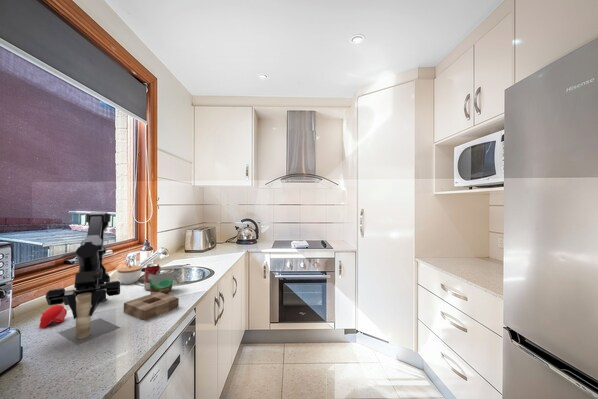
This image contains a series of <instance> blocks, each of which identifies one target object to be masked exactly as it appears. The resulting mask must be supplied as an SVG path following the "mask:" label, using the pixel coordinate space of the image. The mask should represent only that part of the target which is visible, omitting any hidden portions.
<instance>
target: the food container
mask: <svg viewBox="0 0 598 399" xmlns="http://www.w3.org/2000/svg"><path fill="white" fill-rule="evenodd" d="M175 275H176V272H175V269H174V268H172V269H171V270H170V271H162V272H161V271H160V273H159V274H156V275H151V274H149V276H148V279H149V280H150V290H149V291H150V294H153V293H156V292H161V293H164V294H167V295H169V294H170V293H171V292H172V291H173V283H174V276H175Z"/></svg>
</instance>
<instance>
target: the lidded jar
mask: <svg viewBox="0 0 598 399" xmlns="http://www.w3.org/2000/svg"><path fill="white" fill-rule="evenodd" d="M142 268H143V267H142V265H132V264H129V265H126V266H122V267H119V268H118V269H117V279H118V281H119V282H120V283H121V284H123V285H131V284H135V283H137V281H138V280H139V279H140V277H141V274H142Z"/></svg>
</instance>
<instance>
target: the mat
mask: <svg viewBox="0 0 598 399" xmlns="http://www.w3.org/2000/svg"><path fill="white" fill-rule="evenodd" d="M120 328H121V327H120V326H119V325H116V324H114V323H112V322H109V321H108V320H105V319H103V318H102V317H99V318H96V319H93V320H91V328H90V336H89V337H87V338H85V339H80V340H77V339H76V325H75V326H73V327H70V328H67V329H64V330H60V331H59V332H57V334H59V335H60V336H62V337H64V338H65V339H67V340H68V341H70V342H71V343H73V344H74V345H76V346H79V345H81V344H84V343H86V342H88V341H90V340H94V339H96V338H98V337H101V336H104V335H105V334H108V333H111V332H113V331H116V330H119V329H120Z"/></svg>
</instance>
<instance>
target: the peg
mask: <svg viewBox="0 0 598 399" xmlns="http://www.w3.org/2000/svg"><path fill="white" fill-rule="evenodd" d="M76 302H77V304H76V319H75V326H76V339H77V340H80V339H85V338H87V337H89V336H90V328H91V321H92V320H91V319H92V316H90V311H91V307H92V305H91V293H82V294H79V295H77V296H76Z"/></svg>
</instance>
